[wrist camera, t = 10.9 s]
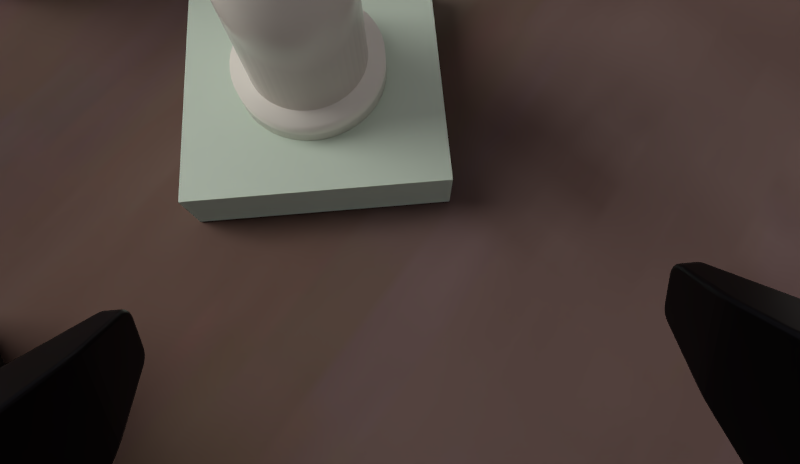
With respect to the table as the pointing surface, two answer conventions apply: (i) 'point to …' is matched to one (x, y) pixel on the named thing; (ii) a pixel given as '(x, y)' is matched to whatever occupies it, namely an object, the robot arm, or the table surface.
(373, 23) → the white rounded piece
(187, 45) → the block
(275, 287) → the table surface
